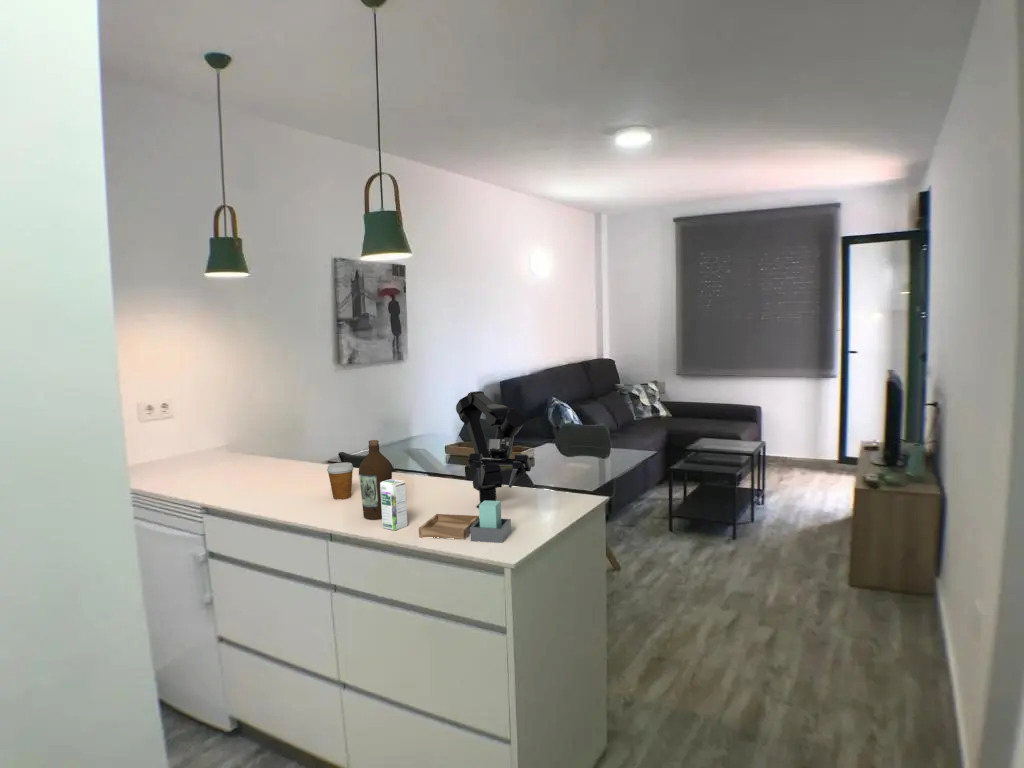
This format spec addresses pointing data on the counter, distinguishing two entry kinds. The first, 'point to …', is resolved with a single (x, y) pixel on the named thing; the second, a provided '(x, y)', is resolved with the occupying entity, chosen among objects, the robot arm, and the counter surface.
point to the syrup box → (393, 504)
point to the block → (490, 514)
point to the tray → (448, 526)
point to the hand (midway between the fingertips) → (494, 486)
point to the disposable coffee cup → (340, 479)
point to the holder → (490, 532)
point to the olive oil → (373, 480)
